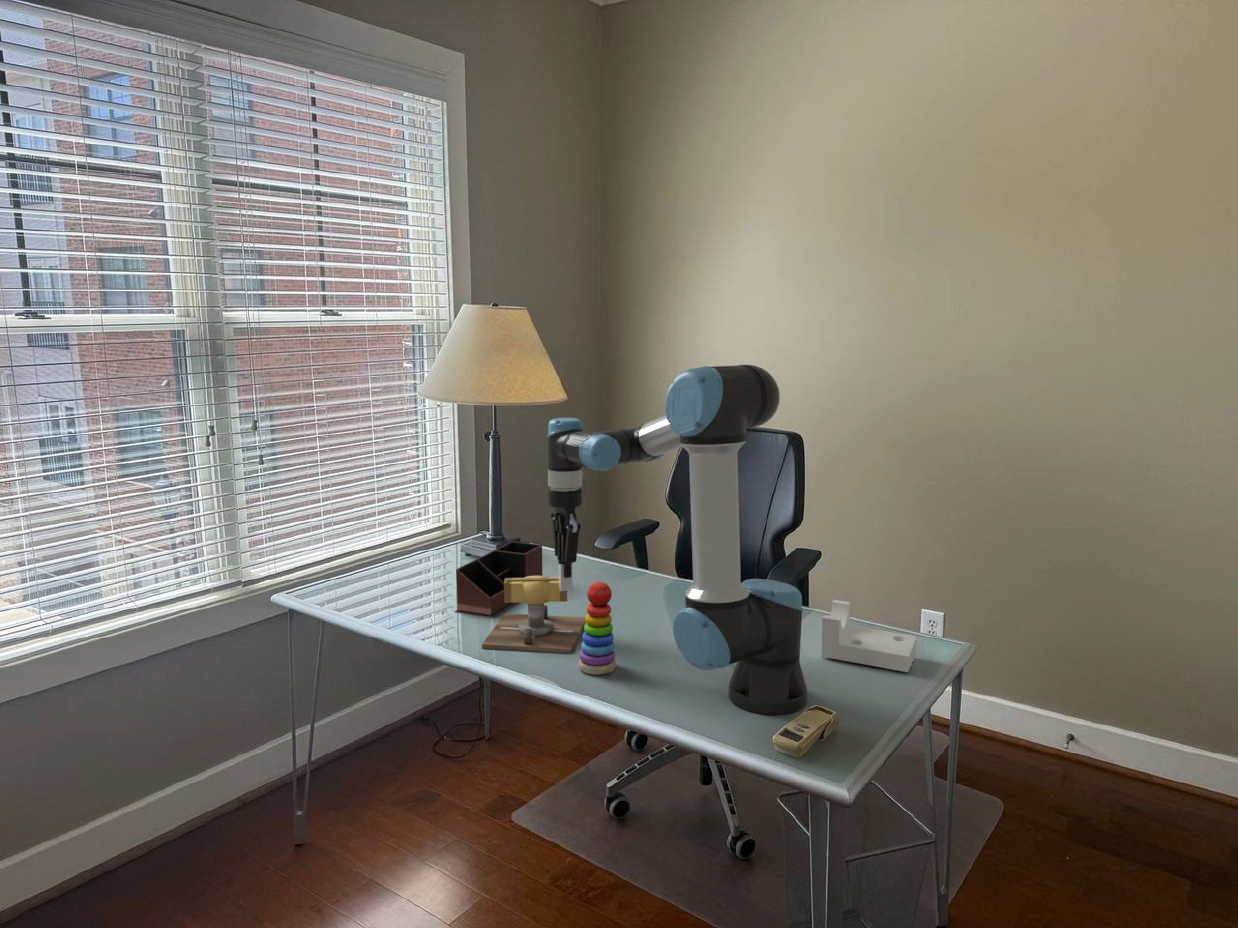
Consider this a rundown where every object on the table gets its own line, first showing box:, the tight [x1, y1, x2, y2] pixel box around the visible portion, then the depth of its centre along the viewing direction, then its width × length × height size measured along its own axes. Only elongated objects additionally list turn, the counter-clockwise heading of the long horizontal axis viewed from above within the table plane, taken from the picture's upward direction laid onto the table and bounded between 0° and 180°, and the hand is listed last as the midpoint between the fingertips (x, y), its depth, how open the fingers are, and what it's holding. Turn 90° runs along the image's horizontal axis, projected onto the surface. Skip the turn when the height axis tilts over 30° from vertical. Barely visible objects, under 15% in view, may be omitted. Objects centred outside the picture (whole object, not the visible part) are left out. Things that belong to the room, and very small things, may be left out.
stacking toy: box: [577, 581, 617, 676], centre depth 185 cm, size 8×8×19 cm
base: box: [481, 603, 586, 654], centre depth 205 cm, size 20×20×8 cm
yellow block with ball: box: [504, 575, 568, 605], centre depth 204 cm, size 14×7×5 cm, turn 95°
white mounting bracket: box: [821, 599, 918, 673], centre depth 192 cm, size 18×10×10 cm, turn 63°
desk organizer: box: [454, 540, 543, 619], centre depth 231 cm, size 10×29×11 cm, turn 158°
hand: (565, 589), depth 202 cm, fingers closed
